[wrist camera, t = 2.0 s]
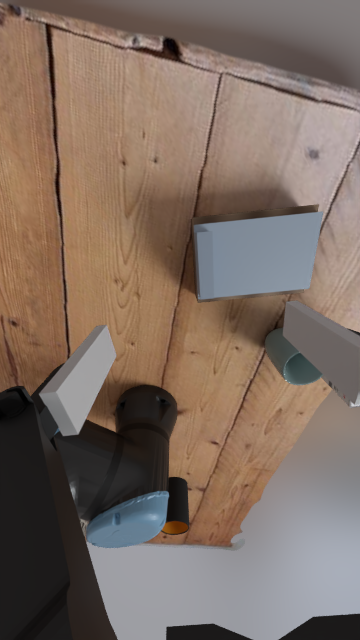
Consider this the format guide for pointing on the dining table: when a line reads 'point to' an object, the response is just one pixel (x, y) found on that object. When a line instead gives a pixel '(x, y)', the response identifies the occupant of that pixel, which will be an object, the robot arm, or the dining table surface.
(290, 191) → the dining table surface
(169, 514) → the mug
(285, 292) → the box
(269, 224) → the lid
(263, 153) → the dining table surface
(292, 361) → the cup
